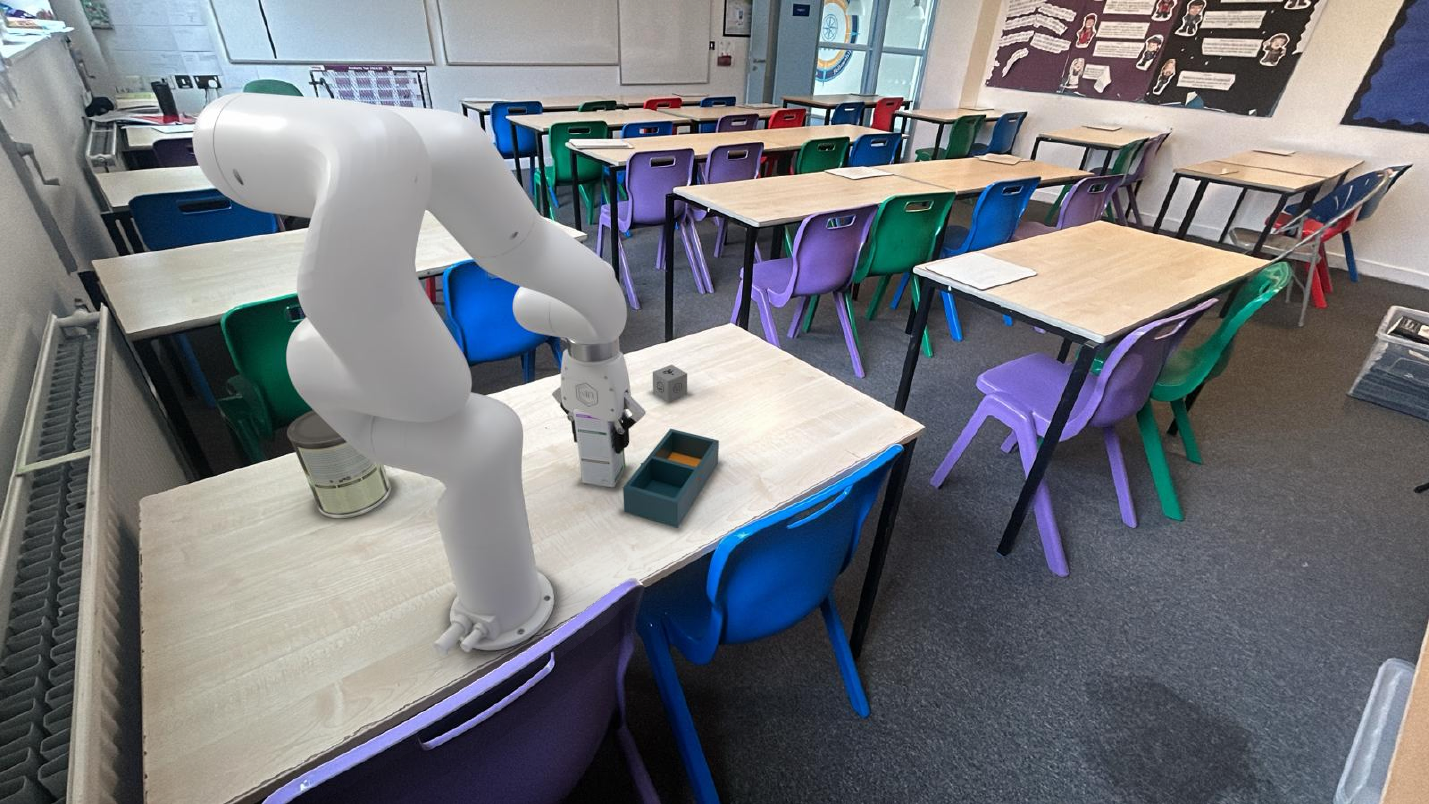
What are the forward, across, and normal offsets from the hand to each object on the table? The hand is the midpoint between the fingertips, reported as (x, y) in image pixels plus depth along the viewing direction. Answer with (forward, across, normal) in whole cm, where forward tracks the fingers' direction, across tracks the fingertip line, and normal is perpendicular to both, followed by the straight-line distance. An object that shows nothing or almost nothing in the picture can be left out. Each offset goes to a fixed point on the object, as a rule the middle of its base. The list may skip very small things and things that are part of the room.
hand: (601, 442), depth 98 cm
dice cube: (+7, -1, +29) cm, 30 cm away
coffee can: (+7, -33, -20) cm, 39 cm away
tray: (+7, +12, +2) cm, 14 cm away
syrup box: (+7, 0, 0) cm, 7 cm away
